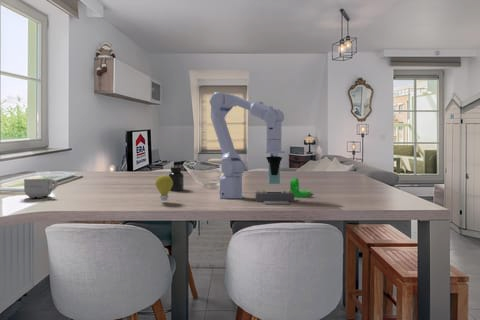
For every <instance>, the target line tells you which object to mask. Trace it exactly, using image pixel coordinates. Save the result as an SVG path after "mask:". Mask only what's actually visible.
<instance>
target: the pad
mask: <svg viewBox="0 0 480 320" xmlns="http://www.w3.org/2000/svg"><path fill="white" fill-rule="evenodd" d="M263 204H264V205H269V206H270V205H272V206H273V205H274V206H275V205H291V202H288V201H263Z"/></svg>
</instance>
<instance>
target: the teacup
mask: <svg viewBox="0 0 480 320" xmlns="http://www.w3.org/2000/svg"><path fill="white" fill-rule="evenodd" d="M23 181H24V183H23V189H24V190H23V192H24V194H25V196H28V198H35V197H37V198H43V197H42V196H47V197H49V196H50V195H51V194H52V192H53V191H54V190H56V189H57V187H58V181H57V180H56V179H53V178H37V179H36V178H29V179H28V178H26V179H23Z"/></svg>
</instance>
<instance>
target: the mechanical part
mask: <svg viewBox="0 0 480 320" xmlns="http://www.w3.org/2000/svg"><path fill="white" fill-rule="evenodd" d="M289 185H290V186H289V188H290V189H289V190H291V191H292V193H294V198H303V199H305V198H307V197H309V196H311V194H312V192H311V190H300V180H299V179H298V178H297V177H296V178H295V177H292V178H291V180H290V183H289Z"/></svg>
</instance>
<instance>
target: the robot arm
mask: <svg viewBox="0 0 480 320" xmlns="http://www.w3.org/2000/svg"><path fill="white" fill-rule="evenodd" d="M209 104H210V119H211V122H212V126H213V128H214V131H215V135H216V137H217V141H218V144H219V147H220V151H221V154H222V157H221V159H220V163H221V166H220V167H221V173H222V174H223V176H220V177H219V190H218V193H219V199H244V195H243V176H244V173H245V171H246V164H245V163H244V161H243V160H242V158H241V156H240V155H239V153H237V151H236V149H235V146H234V142H233V140H232V136H231V134H230V132H229V128H228V125H227V122H226V120H225V119H226V117H227V115H228V113H229V112H230V111H231V110H232V108H234V107H240V108H242V109H244V110H248V111H250V114H251V115H252V116H253V117H256V118H258V119H260V120H262V121H265V123H266V152H265V153H266V154H269V156H266V157H265V158H266V160H267V164H268V163H270V168H271V174H272V175H277V174H278V170H279V165H280V166H281V162H282V159H283V157H281V156H279V154H285V151H284V150H282V123H283V121H284V120H285V113H284V112H283V111H282V110H280V109H277V108H274V106H272V105H266V104H264V102H263V101H261V100H259V101H255V102H251V101H249V100H246V99H244V98H242V97H240V96H237V95H233V94H230V93H229V94H228V93H222V92H220V91H216V92H213V94H212V95H211V96H210V99H209Z"/></svg>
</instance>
